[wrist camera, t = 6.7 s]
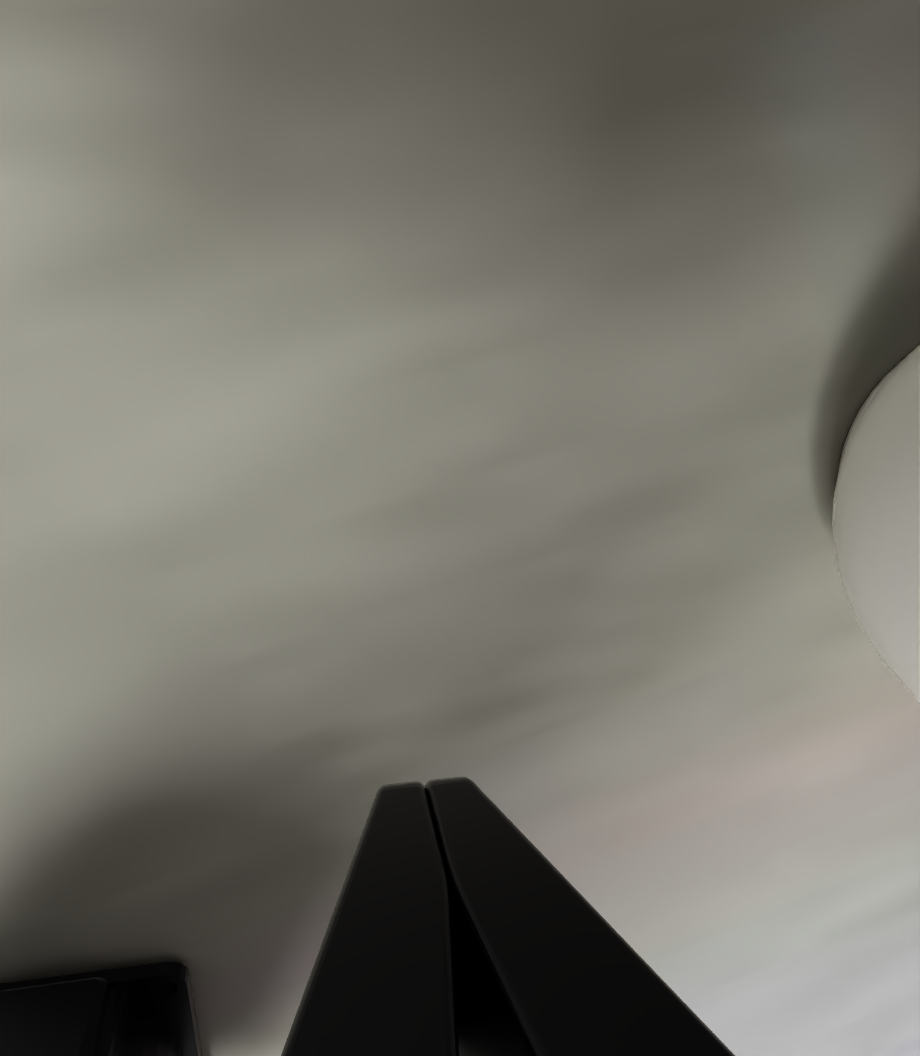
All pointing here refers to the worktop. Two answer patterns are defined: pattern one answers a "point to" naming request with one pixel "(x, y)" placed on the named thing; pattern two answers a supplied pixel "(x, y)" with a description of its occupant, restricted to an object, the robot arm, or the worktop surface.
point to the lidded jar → (884, 520)
